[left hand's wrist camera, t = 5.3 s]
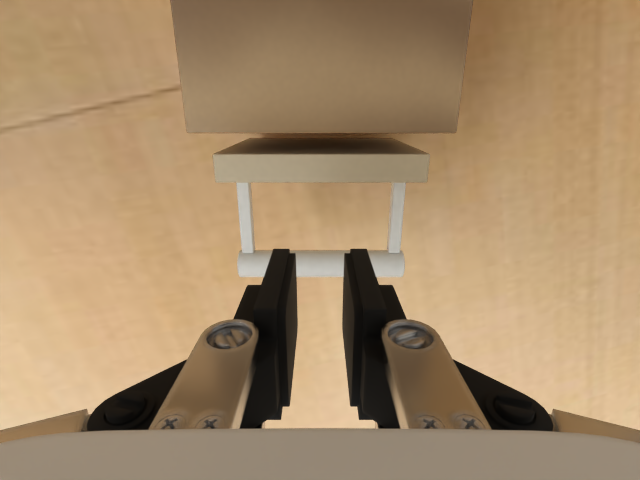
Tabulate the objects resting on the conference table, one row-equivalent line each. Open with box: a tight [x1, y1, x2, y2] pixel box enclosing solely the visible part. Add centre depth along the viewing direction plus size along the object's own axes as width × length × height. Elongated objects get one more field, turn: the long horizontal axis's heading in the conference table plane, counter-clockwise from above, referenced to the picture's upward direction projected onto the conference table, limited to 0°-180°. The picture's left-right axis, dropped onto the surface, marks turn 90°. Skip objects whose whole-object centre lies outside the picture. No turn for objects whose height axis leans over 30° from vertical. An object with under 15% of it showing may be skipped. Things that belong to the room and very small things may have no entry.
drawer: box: [213, 138, 430, 277], centre depth 17 cm, size 24×9×8 cm, turn 0°
